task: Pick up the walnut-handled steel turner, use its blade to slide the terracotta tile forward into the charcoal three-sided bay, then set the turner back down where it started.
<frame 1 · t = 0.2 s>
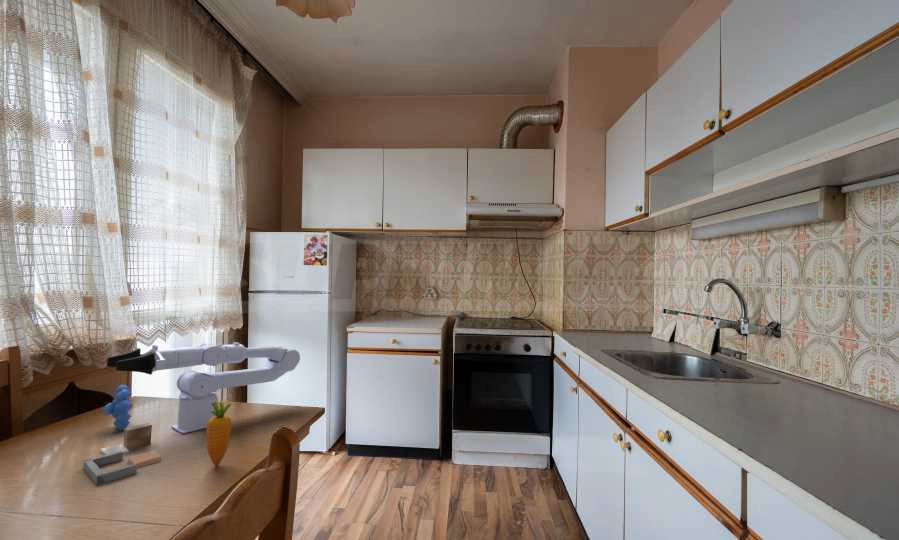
hand: (111, 364, 97), 21 cm above the table, tool horizontal, fingers open, 7 cm apart
tile: (144, 463, 91), on the table
grapes: (116, 429, 109), on the table
carrot: (216, 466, 90), on the table
turner: (137, 446, 99), on the table
bay: (113, 469, 86), on the table
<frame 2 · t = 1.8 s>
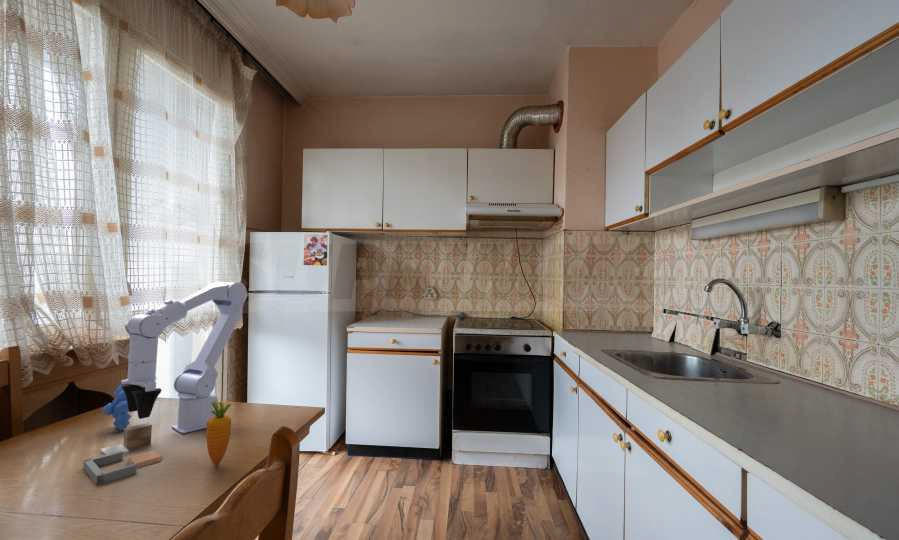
hand: (139, 414, 99), 8 cm above the table, tool pointing down, fingers open, 7 cm apart
nothing on the table moved.
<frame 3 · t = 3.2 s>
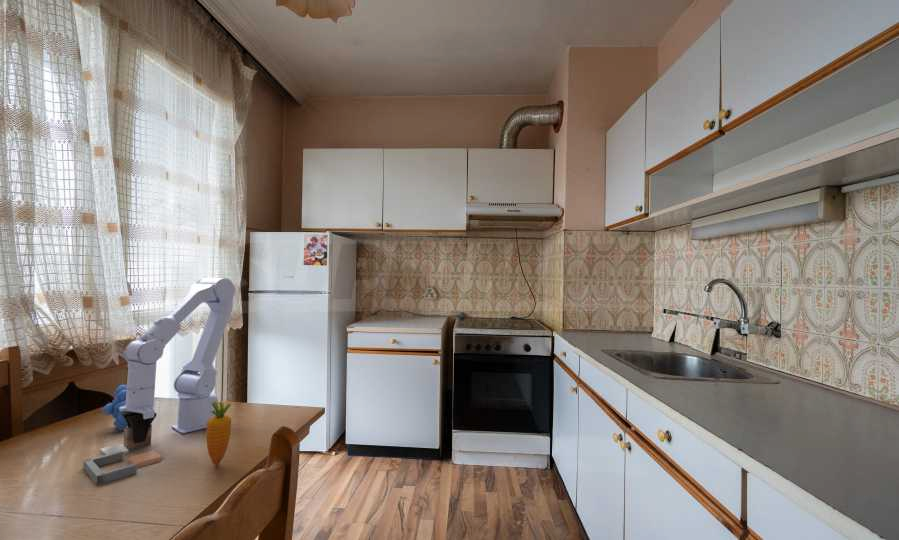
hand: (137, 440, 99), 1 cm above the table, tool pointing down, fingers closed on turner, 2 cm apart
turner: (137, 446, 99), on the table, touching gripper
everything else where it was.
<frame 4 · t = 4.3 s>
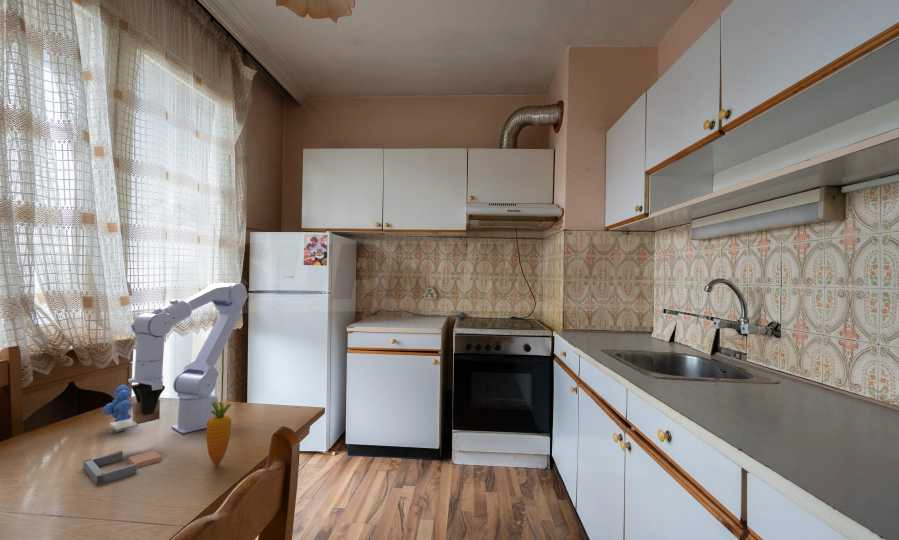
hand: (146, 412, 99), 8 cm above the table, tool pointing down, fingers closed on turner, 2 cm apart
turner: (146, 420, 99), point 6 cm above the table, touching gripper
everything else where it was.
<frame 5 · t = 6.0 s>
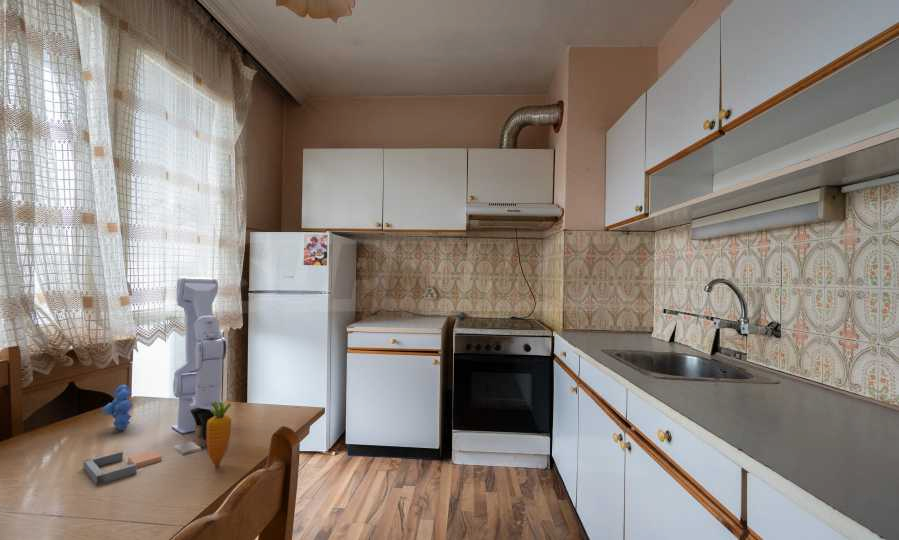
hand: (205, 436, 101), 2 cm above the table, tool pointing down, fingers closed on turner, 2 cm apart
turner: (206, 443, 102), on the table, touching gripper
everything else where it was.
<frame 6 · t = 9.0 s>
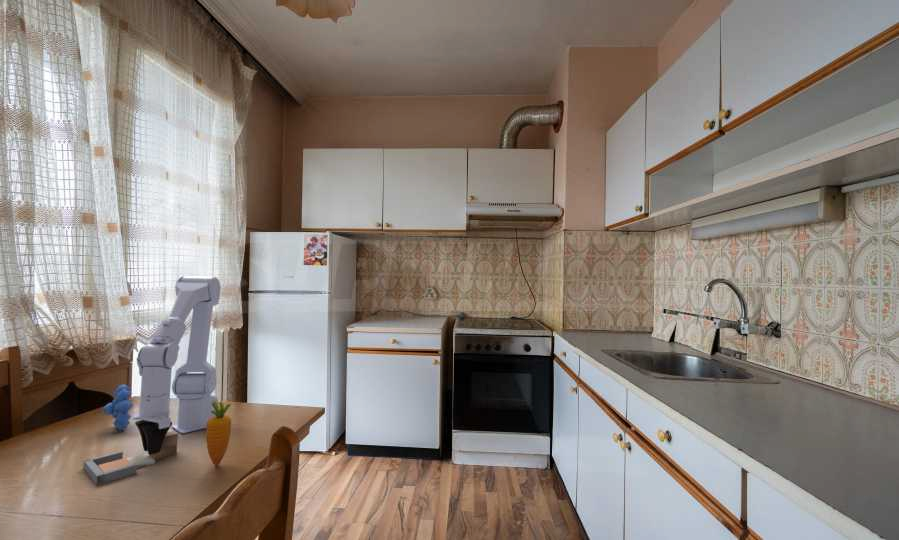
hand: (151, 451, 92), 2 cm above the table, tool pointing down, fingers closed on turner, 2 cm apart
tile: (114, 471, 87), on the table
turner: (162, 455, 94), on the table, touching gripper
everything else where it was.
when the fingers open (2 cm above the table, at t = 13.0 s): turner stays where it is, on the table.
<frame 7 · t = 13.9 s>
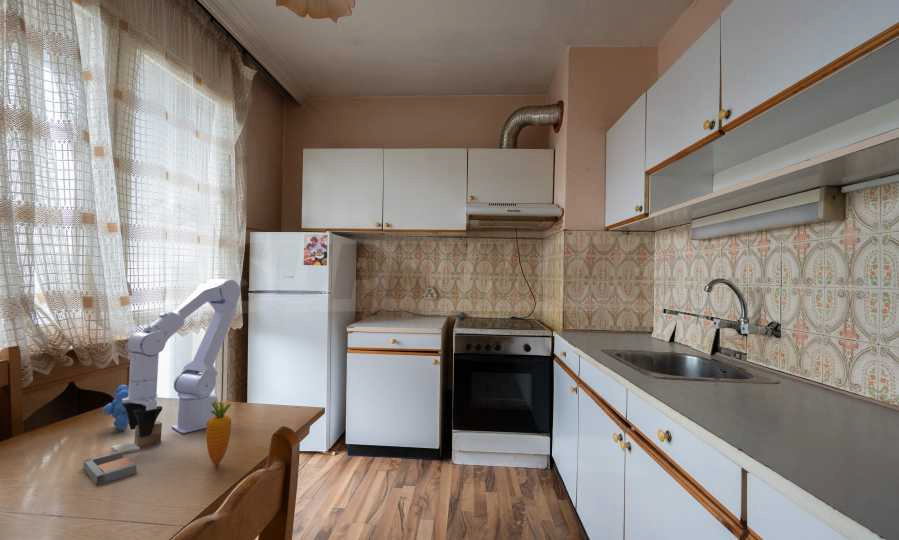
hand: (140, 432, 99), 3 cm above the table, tool pointing down, fingers open, 7 cm apart
turner: (147, 443, 100), on the table
everything else where it was.
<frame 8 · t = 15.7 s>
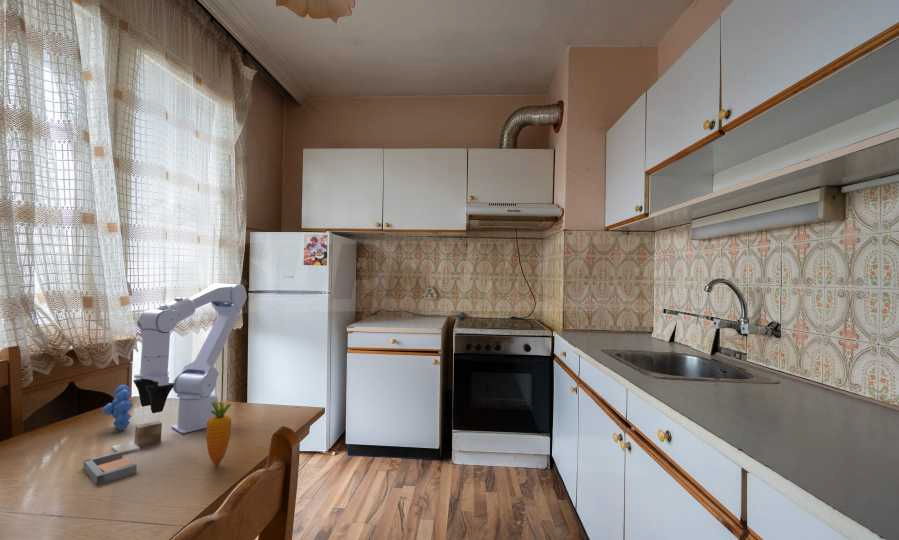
hand: (151, 408, 99), 9 cm above the table, tool pointing down, fingers open, 7 cm apart
nothing on the table moved.
at the end: tile 0.7 cm off-centre on the bay, point -0.5 cm above the bay's base; tile tilted 1°; turner inside the target area (2.2 cm from its centre), on the table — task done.
